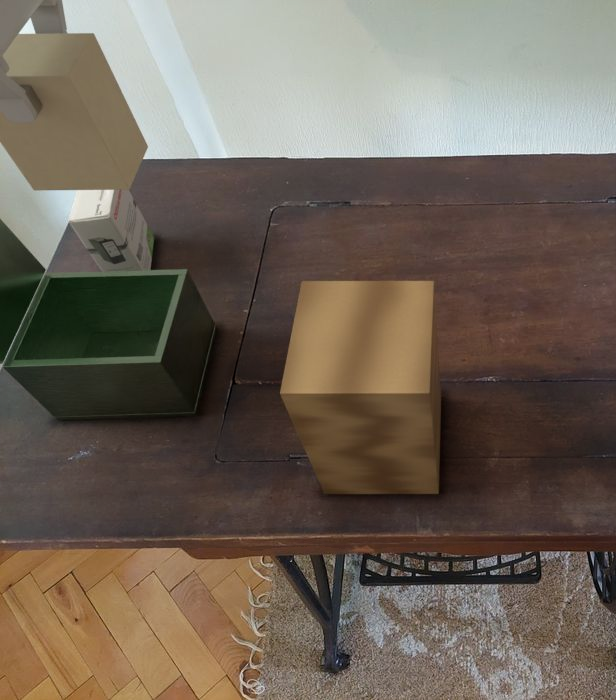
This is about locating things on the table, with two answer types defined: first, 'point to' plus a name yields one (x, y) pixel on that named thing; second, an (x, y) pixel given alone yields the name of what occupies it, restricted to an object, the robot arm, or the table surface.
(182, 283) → the bin
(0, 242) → the lid
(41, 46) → the carton
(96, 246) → the ink box
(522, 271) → the table surface
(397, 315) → the stand
